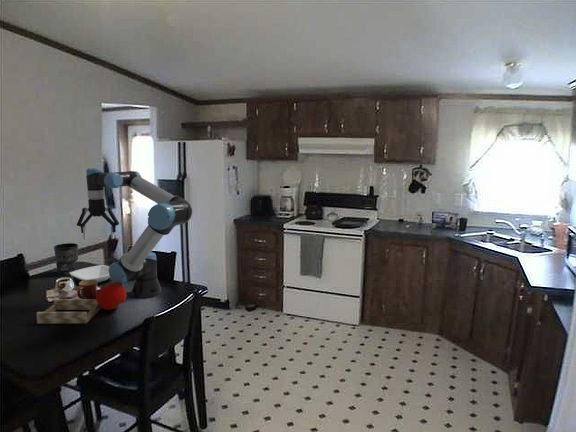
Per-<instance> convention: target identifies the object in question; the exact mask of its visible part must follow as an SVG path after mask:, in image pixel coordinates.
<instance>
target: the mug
mask: <svg viewBox="0 0 576 432" xmlns="http://www.w3.org/2000/svg"><path fill="white" fill-rule="evenodd" d="M98 284H99V282H98V281H97V280H84V281H82V280H81V281H79V283H78V286H79V287H78V288H77V291H76V293H77V294H76V295H77V297H78V299H96V293H97V291H98V289H97V288H98Z"/></svg>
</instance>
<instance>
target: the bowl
mask: <svg viewBox="0 0 576 432" xmlns="http://www.w3.org/2000/svg"><path fill="white" fill-rule="evenodd" d="M109 266H110V265H104V264H99V265H94V266H89V267H88V266H87V267H84V268H83V267H82V268H80V269H76V271H73V270H72V272H70V273H69V272H68V275H69V276H70V275H72V277H74V278H76V279H77V280H79V281H80V280H81V281H84V280H97V281H98V283H102V282H105V281H107V280H108V279H111V278H110V275H109Z"/></svg>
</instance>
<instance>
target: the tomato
mask: <svg viewBox="0 0 576 432" xmlns="http://www.w3.org/2000/svg"><path fill="white" fill-rule="evenodd" d="M127 296H128V295H127V291H126V288H125V286H123V284H122V285H121V284H119V283H117V282H109V284H108V285H106V286H103V287H102V288H100V289H97V293H96V300H97V303H98V304H99V306H100V307H101V309H104V310H108V311H111V310H114V309H115V308H117V307H119V306H120V305H121V304H123V303H124V302H125V300H126V299H127Z"/></svg>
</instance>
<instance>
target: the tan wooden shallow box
mask: <svg viewBox="0 0 576 432" xmlns="http://www.w3.org/2000/svg"><path fill="white" fill-rule="evenodd" d="M101 309H102V308H101V307H100V306H99V304H98V303H97V300H96V299H81V298H54V299H53V304H52V305H50V306H49V307H48V308H47V309H46V310H44V311H37V312H36V313H35V314H36V322H37V323H36V324H87V323H88V322H90V320H91V319H92V318H93V317H94V316H95V315H96V314H97V313H99V311H100V310H101ZM58 310H59V311H58ZM64 310H65V311H64ZM68 310H70V311H68ZM71 310H72V311H71ZM74 310H75V311H74ZM76 310H77V311H76ZM80 310H82V311H80ZM86 310H88V311H86Z"/></svg>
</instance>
